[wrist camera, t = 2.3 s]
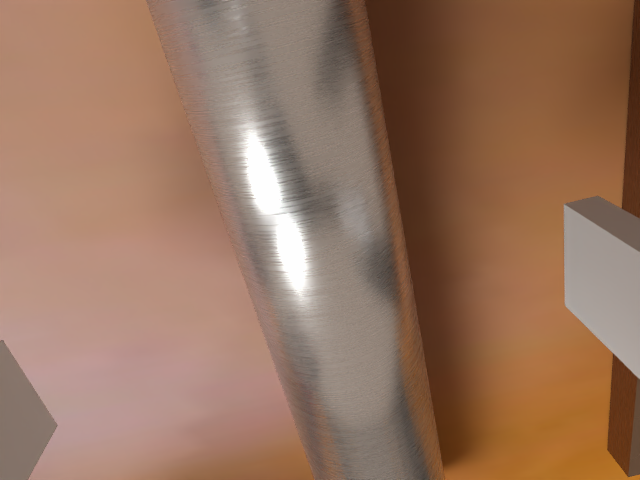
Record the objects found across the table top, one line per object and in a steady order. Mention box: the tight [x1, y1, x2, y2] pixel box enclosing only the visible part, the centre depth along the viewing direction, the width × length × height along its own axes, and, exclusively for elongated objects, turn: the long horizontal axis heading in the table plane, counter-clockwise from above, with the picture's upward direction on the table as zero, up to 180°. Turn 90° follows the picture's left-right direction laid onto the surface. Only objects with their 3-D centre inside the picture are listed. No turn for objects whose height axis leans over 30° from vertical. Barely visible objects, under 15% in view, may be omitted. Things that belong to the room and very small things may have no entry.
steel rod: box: [146, 0, 445, 480], centre depth 14 cm, size 30×5×5 cm, turn 13°
